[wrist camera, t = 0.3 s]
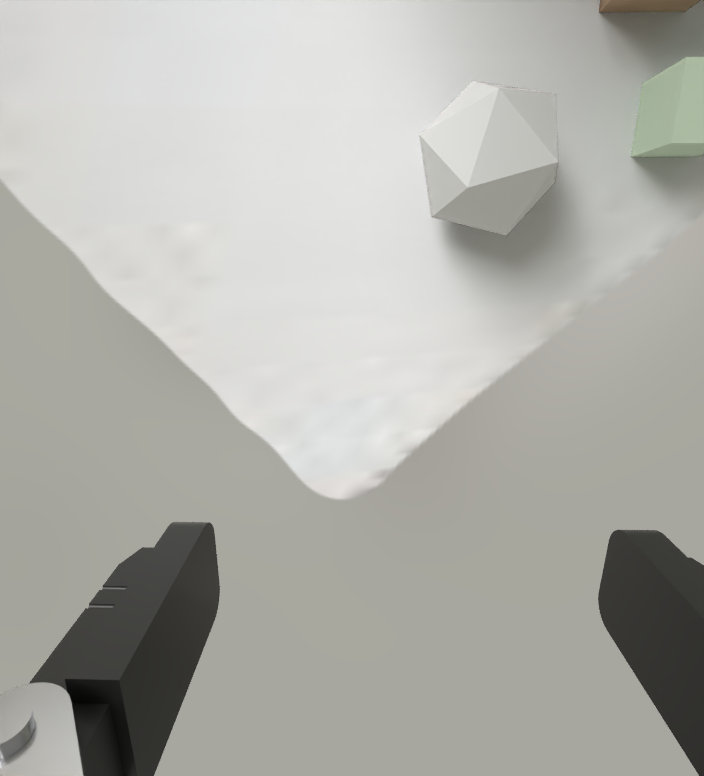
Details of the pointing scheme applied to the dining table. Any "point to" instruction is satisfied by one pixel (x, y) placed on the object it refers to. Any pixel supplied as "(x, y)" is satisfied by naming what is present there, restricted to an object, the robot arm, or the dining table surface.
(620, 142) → the dining table surface
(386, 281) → the dining table surface
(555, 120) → the die
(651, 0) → the walnut block
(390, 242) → the dining table surface
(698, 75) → the green block
